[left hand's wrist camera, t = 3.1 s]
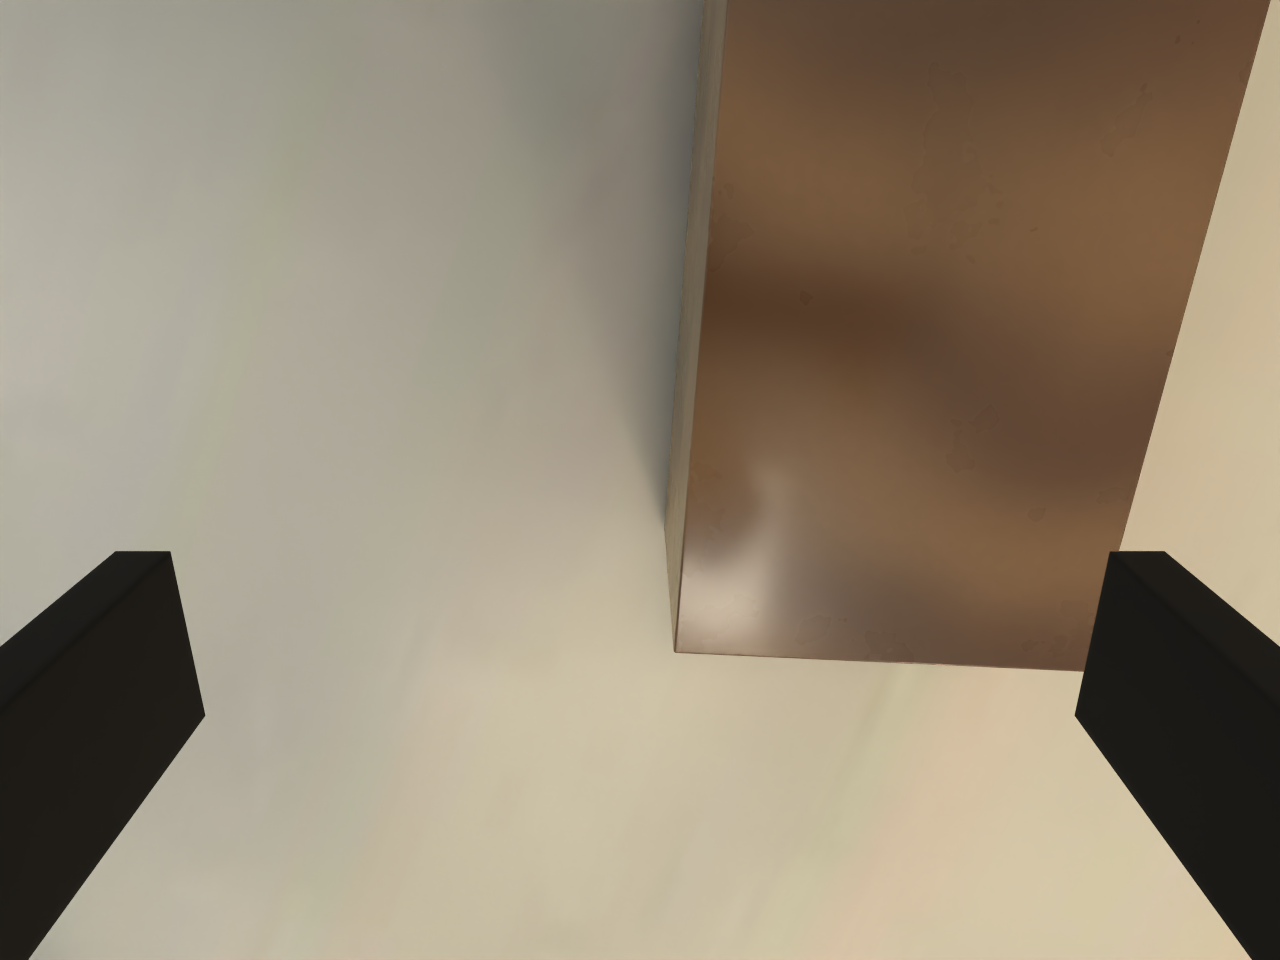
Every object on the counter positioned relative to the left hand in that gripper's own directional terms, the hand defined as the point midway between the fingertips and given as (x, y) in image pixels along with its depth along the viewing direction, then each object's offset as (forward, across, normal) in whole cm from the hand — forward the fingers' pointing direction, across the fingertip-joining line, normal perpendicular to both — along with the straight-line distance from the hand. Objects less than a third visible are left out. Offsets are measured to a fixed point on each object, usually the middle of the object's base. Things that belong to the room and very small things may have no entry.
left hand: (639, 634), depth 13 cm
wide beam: (+15, -7, -22) cm, 28 cm away
